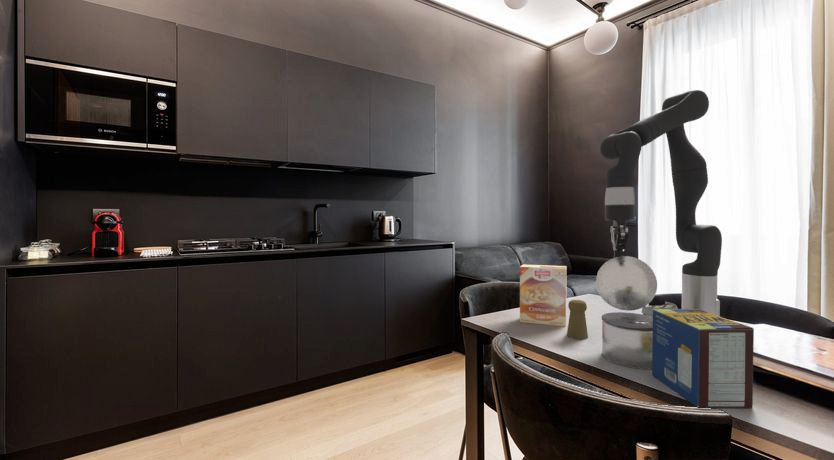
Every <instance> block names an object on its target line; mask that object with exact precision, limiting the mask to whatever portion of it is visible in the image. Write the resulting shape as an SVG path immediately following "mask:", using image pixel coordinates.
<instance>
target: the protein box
mask: <svg viewBox="0 0 834 460" xmlns="http://www.w3.org/2000/svg"><path fill="white" fill-rule="evenodd" d="M754 335H755V330H754V327H751V326H749V325H745V324H743V323H739V322H737V321H734V320H732V319H731V320H730V319H727V318H725V317H722V316H721V315H720V316H717V315H714V314H711V313H708V312H705V311H702V310H700V309H682V308H678V309H653V338H652V369H651V375H652V376H653V377H654V378H656V379H657V380H658V379H659V381H660V382H662V383H663V384H664V385H665V386H666V387H668V388H670V390H672V391H673V392H675V393H677V394H678V395H679V396H680V397H682V398H684V399H685V400H686V401H688V402H689V403H690V404H692V405H693V406H694V407H696V406H699V407H710V408H709V409H752V408H753V406H754V405H753V404H754V402H753V401H754V400H753V399H754V397H753V396H754V393H753V392H754V390H753V389H754V346H755V345H754V341H755V340H754V337H755V336H754Z"/></svg>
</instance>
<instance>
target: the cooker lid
mask: <svg viewBox="0 0 834 460" xmlns="http://www.w3.org/2000/svg"><path fill="white" fill-rule="evenodd" d="M595 280H596V281H595V285H596V290H597V292H598V295H599V296H600V297H601V299H602V300H604V302H605V303H607V304H608V305H609V306H611V307H613V308H615V309H618V310H621V311H625V312H626V311H627V312H628V311H637V310H641V309H642V308H643V307H645V306H646V307H647V305H649V304H650V303H652V301H653V299H654V298H655V296H656V293H657V290H658V279H657V276H656V274H655V272H654V270H653V269H652V268H651V267H650V265H649V264H648V263H646V262H645V261H643V260H641V259H639V258H637V257H633V256H630V255H629V256H628V255H626V256H625V255H624V256H620V257H616V258H614V257H613V258H611V259H609V260H606V261H605V262H604V263H603V264H602V265H601V267H600V268H599V269H598V271H597V275H596V279H595Z"/></svg>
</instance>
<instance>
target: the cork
mask: <svg viewBox="0 0 834 460" xmlns="http://www.w3.org/2000/svg"><path fill="white" fill-rule="evenodd" d="M587 306H588V305H587V303H586V302H585V301H584V300H582V299H571V300H569V301H568V305H567V307H568V309H569V315H568V322H567V323H568V325H567V330H566V331H567V332H566V336H567V337H568V338H571V339H575V340H586V339H588V338H589V336H588V335H589V333H588V327H587V326H588V325H587V319H586V313H585V312H586V311H587V309H588V307H587Z"/></svg>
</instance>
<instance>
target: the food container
mask: <svg viewBox="0 0 834 460" xmlns="http://www.w3.org/2000/svg"><path fill="white" fill-rule="evenodd" d="M653 309H679V308H678V306H677V304H675V303H672V302H669V301H664V304H660V305H657V304H656V305H655V304H654V305H652V306H647V305H646V306H645V307H643V308H641V314H643V315H648V316H652V317H653Z"/></svg>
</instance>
